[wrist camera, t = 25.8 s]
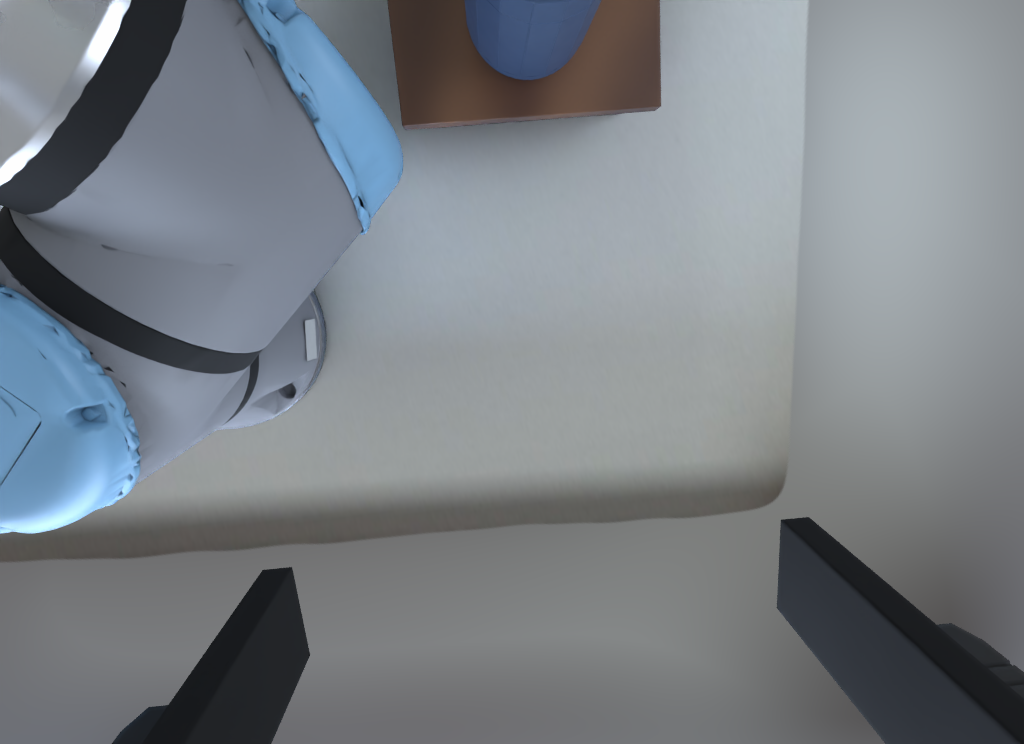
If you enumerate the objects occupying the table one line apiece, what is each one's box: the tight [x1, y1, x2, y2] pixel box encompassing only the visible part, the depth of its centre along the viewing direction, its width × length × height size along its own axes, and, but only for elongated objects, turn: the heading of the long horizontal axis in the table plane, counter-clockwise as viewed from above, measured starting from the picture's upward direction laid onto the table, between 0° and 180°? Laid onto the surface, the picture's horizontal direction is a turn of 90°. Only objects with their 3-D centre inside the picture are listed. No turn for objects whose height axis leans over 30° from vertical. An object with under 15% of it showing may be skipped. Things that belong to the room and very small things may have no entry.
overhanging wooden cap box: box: [387, 0, 661, 130], centre depth 36 cm, size 17×12×6 cm
